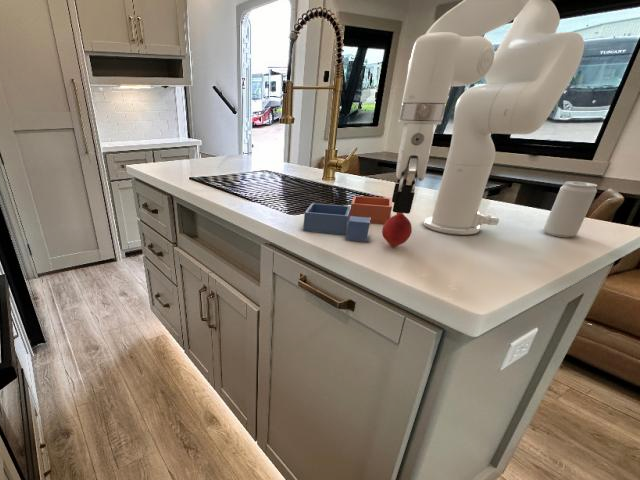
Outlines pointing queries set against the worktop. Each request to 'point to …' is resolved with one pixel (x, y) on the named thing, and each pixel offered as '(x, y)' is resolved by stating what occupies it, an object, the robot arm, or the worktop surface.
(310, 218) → the blue bin
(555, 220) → the beverage can
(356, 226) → the blue block
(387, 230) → the onion
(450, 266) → the worktop surface
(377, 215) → the terracotta bin
